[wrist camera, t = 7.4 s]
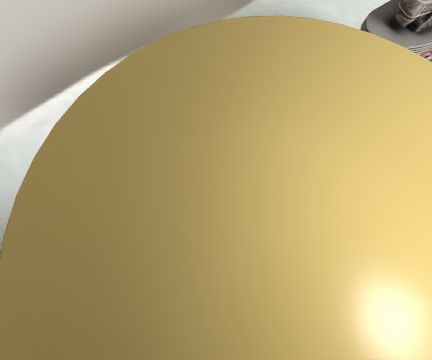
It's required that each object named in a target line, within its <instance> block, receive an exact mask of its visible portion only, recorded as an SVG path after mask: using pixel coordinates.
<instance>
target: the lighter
mask: <svg viewBox="0 0 432 360" xmlns="http://www.w3.org/2000/svg"><path fill="white" fill-rule="evenodd" d="M360 30H362V31H365V32H369V33H372V34H374V35H377V36H379V37H381V38H384V39H386V40H389V41H391V42H394V43H396V44H399V45H401V46H403V47H404V48H406V49H408V50H410V51H412V52H414V53H416V54H418V55H420V56H422V57H424V58H425V59H427V60H429V61H430V62H432V0H391V1H389V2H387V3H385V4H384V5H382V6H380V7H378V8H377V9H375V10H373V11H372V12H371V13H370V14H369V15H368V16H367V18H366V19H365V21H364V22H363V24H362V25H361V29H360Z"/></svg>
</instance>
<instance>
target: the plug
mask: <svg viewBox="0 0 432 360" xmlns="http://www.w3.org/2000/svg"><path fill="white" fill-rule="evenodd" d="M0 360H432V62H430V61H429V60H427V59H425V58H424V57H422V56H420V55H418V54H416V53H414V52H412V51H410V50H408V49H406V48H404V47H403V46H401V45H399V44H396V43H394V42H391V41H389V40H386V39H384V38H381V37H379V36H377V35H374V34H372V33H369V32H365V31H362V30H359V29H355V28H352V27H349V26H345V25H342V24H337V23H332V22H327V21H322V20H317V19H311V18H301V17H290V16H250V17H242V18H234V19H226V20H220V21H216V22H211V23H207V24H203V25H199V26H196V27H191V28H189V29H186V30H183V31H181V32H178V33H175V34H173V35H170V36H167V37H164V38H162V39H160V40H158V41H156V42H154V43H152V44H150V45H148V46H146V47H144V48H143V49H141V50H139V51H137V52H135V53H133V54H132V55H130V56H129V57H127V58H126V59H124V60H123V61H121V62H120V63H119V64H117V65H116V66H114V67H113V68H111V69H110V70H108V71H107V72H106V73H104V74H103V75H102V76H101V77H100V78H99V79H98V80H97V81H96V82H94V83H93V84H92V85H91V86H90V87H89V88H88V89H87V90H86V91H84V92H83V93H82V94H81V95H80V96H79V97H78V98H77V99H76V101H75V102H74V103H73V104H72V105H71V107H70V108H69V109H68V110H67V111H66V112H65V114H64V115H63V116H62V117H61V118H60V119H59V121H58V122H57V123H56V124H55V126H54V127H53V129H52V130H51V132H50V133H49V135H48V137H47V138H46V140H45V141H44V143H43V144H42V146H41V147H40V149H39V151H38V152H37V154H36V155H35V157H34V159H33V161H32V163H31V165H30V167H29V170H28V172H27V174H26V176H25V178H24V180H23V182H22V185H21V187H20V189H19V191H18V193H17V196H16V199H15V202H14V205H13V208H12V212H11V215H10V218H9V221H8V224H7V228H6V231H5V234H4V238H3V244H2V250H1V256H0Z"/></svg>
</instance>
